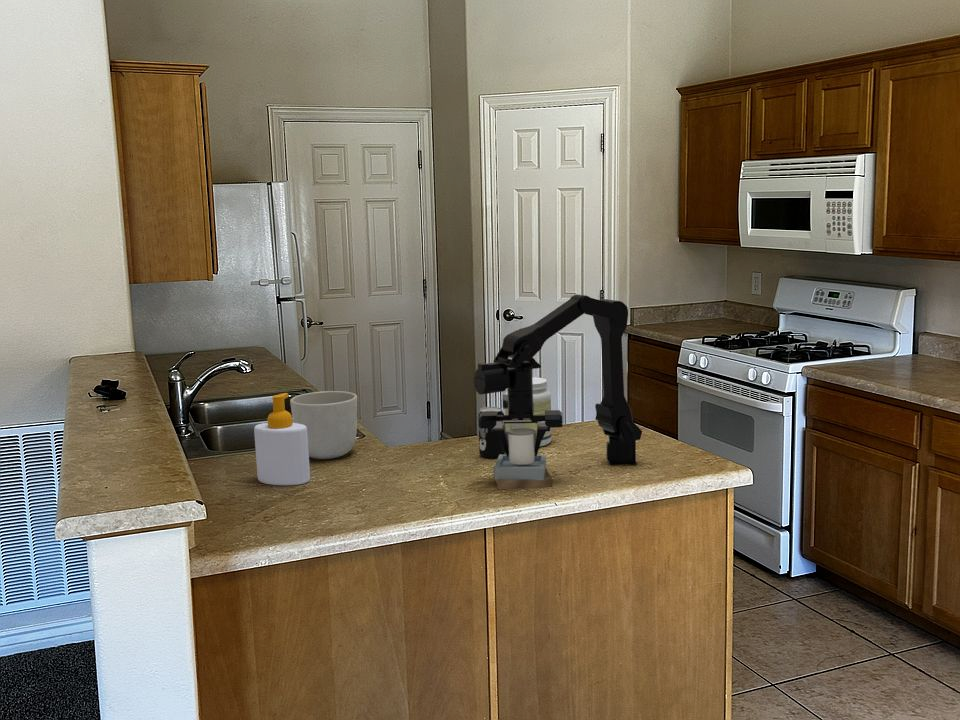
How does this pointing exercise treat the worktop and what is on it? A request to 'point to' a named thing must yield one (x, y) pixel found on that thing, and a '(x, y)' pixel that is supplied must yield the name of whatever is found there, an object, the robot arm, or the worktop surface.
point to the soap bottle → (281, 448)
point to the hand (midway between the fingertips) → (521, 456)
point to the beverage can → (490, 438)
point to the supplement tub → (536, 408)
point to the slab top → (520, 469)
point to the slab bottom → (524, 483)
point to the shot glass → (521, 445)
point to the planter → (327, 421)
